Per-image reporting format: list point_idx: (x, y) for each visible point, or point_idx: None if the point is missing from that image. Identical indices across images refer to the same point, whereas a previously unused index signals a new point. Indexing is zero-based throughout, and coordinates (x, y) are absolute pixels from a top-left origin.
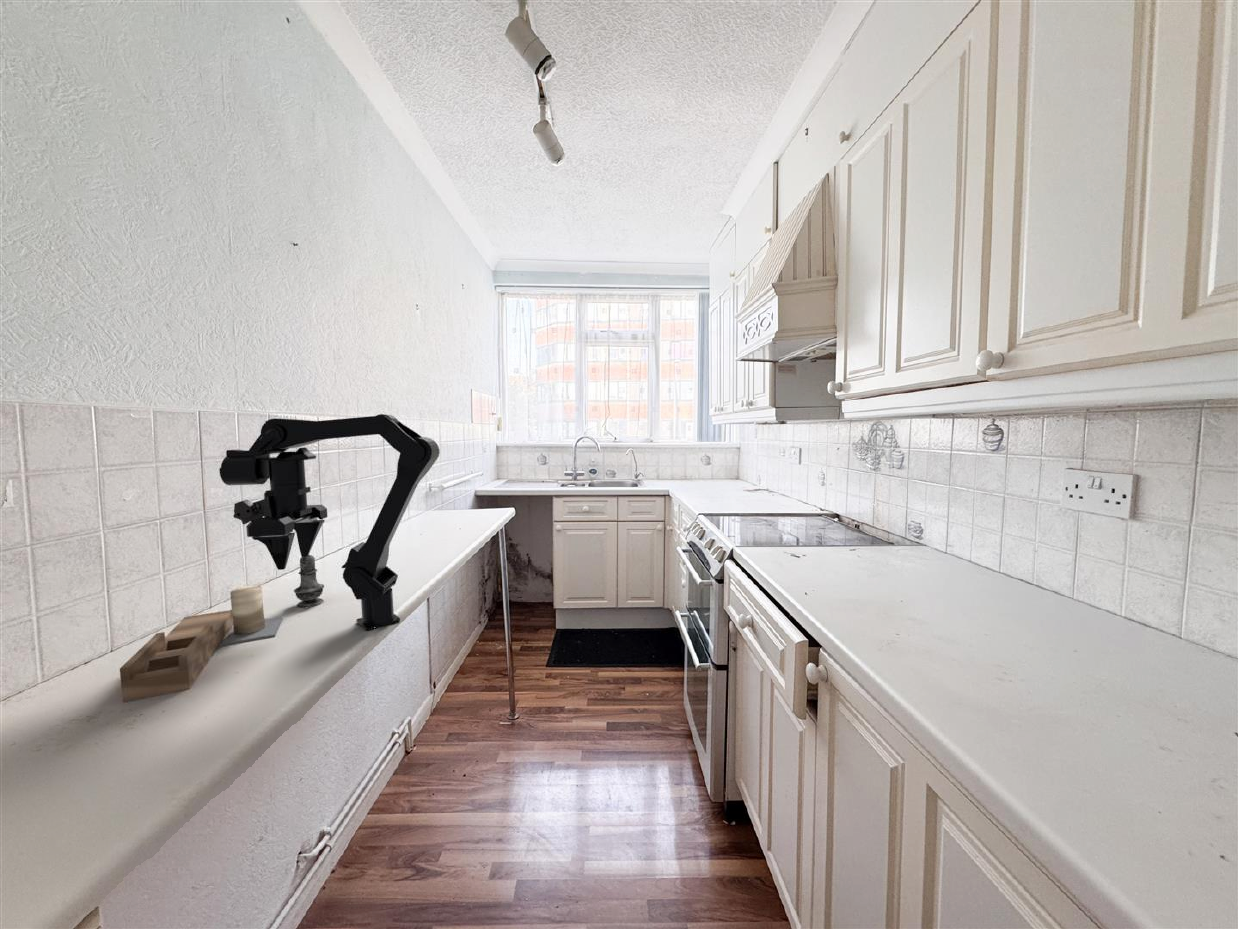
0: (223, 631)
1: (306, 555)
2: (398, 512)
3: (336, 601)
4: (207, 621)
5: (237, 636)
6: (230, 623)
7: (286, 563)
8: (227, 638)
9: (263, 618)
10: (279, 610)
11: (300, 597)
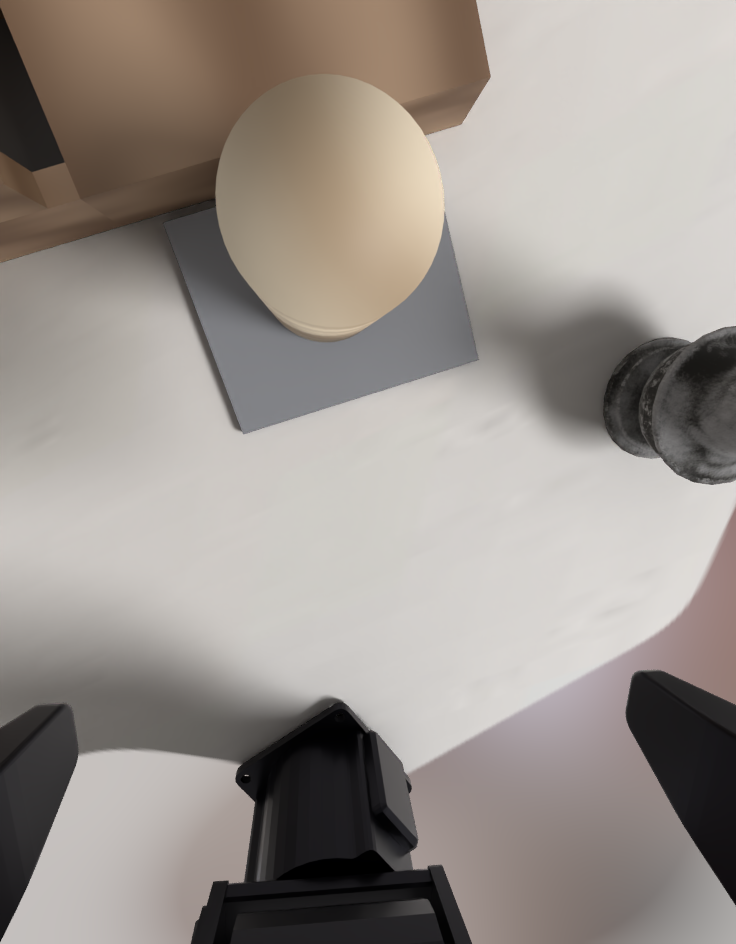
0: None
1: (634, 727)
2: None
3: (644, 514)
4: (297, 13)
5: None
6: None
7: (30, 848)
8: None
9: (337, 339)
10: (609, 280)
11: (650, 382)
